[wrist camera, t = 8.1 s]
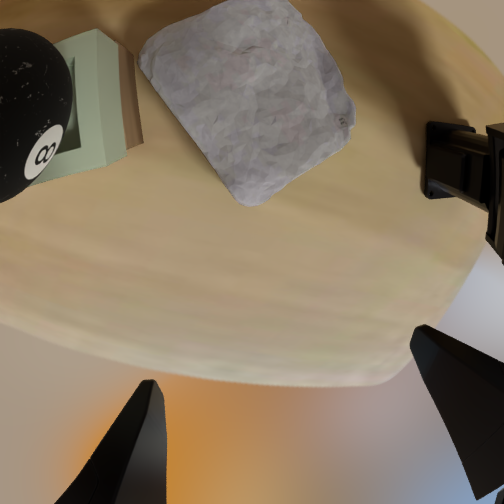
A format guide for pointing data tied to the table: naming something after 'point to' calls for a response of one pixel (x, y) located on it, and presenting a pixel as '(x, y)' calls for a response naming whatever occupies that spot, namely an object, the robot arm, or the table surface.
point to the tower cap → (90, 107)
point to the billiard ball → (30, 107)
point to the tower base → (129, 98)
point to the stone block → (252, 92)
